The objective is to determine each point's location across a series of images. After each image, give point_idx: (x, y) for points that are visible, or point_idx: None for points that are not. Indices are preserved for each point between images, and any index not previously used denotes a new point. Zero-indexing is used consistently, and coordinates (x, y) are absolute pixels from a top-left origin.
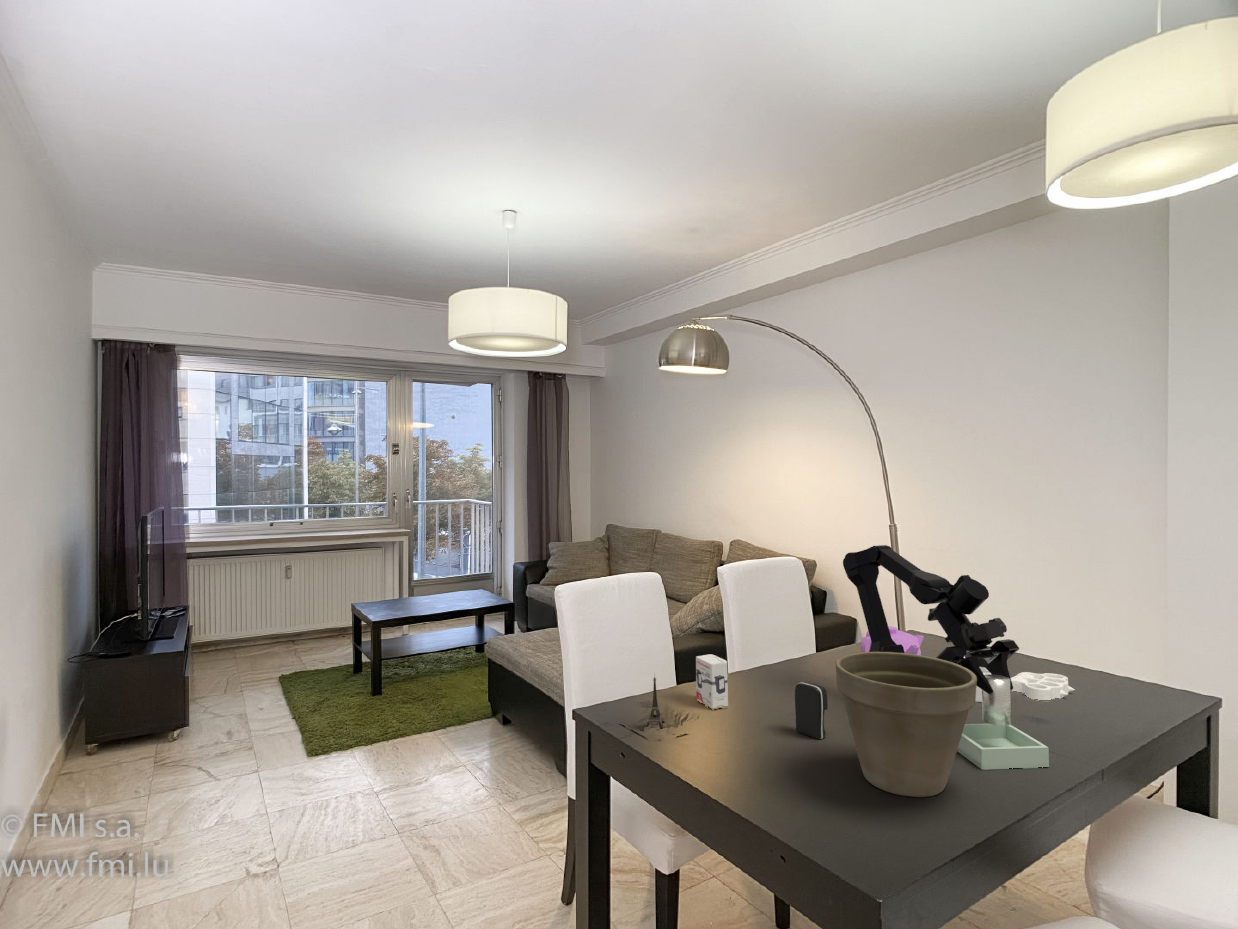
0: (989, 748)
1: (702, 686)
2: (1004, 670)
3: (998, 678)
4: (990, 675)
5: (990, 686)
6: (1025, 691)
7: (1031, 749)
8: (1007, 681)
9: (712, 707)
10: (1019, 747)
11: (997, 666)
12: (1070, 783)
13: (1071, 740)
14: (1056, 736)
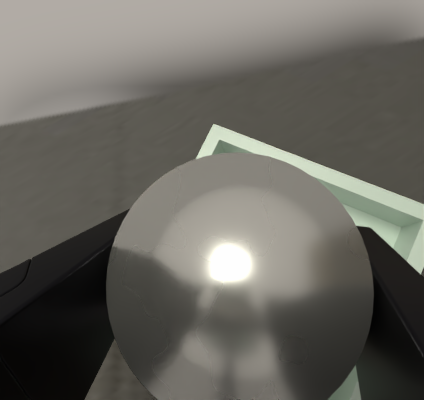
0: (406, 204)
1: None
2: (54, 277)
3: (222, 252)
4: (194, 366)
5: (367, 245)
6: None
7: (264, 145)
8: (231, 154)
9: None
10: (296, 162)
11: (3, 396)
12: (267, 71)
13: (3, 228)
14: (2, 264)
